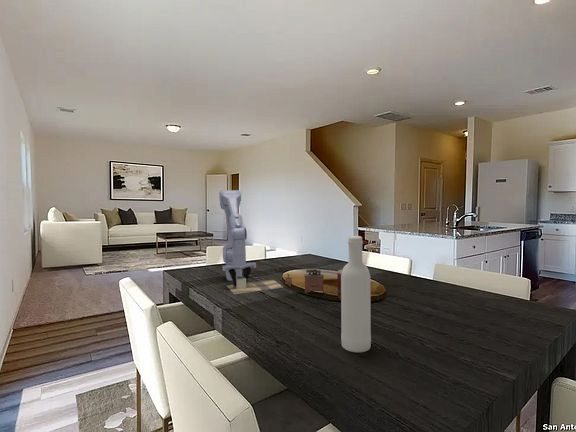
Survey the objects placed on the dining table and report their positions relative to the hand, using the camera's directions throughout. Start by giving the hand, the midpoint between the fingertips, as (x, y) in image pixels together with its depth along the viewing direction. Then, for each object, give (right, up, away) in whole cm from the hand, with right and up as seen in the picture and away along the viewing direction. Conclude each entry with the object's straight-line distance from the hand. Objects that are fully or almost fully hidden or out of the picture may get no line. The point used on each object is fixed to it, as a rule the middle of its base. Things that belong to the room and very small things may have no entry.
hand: (240, 285), depth 146 cm
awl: (+21, -1, +4) cm, 22 cm away
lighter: (+32, -2, -7) cm, 33 cm away
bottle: (+40, -5, -55) cm, 68 cm away
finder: (0, -1, 0) cm, 1 cm away
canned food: (+44, -2, -15) cm, 47 cm away
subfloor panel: (+7, -2, 0) cm, 7 cm away
